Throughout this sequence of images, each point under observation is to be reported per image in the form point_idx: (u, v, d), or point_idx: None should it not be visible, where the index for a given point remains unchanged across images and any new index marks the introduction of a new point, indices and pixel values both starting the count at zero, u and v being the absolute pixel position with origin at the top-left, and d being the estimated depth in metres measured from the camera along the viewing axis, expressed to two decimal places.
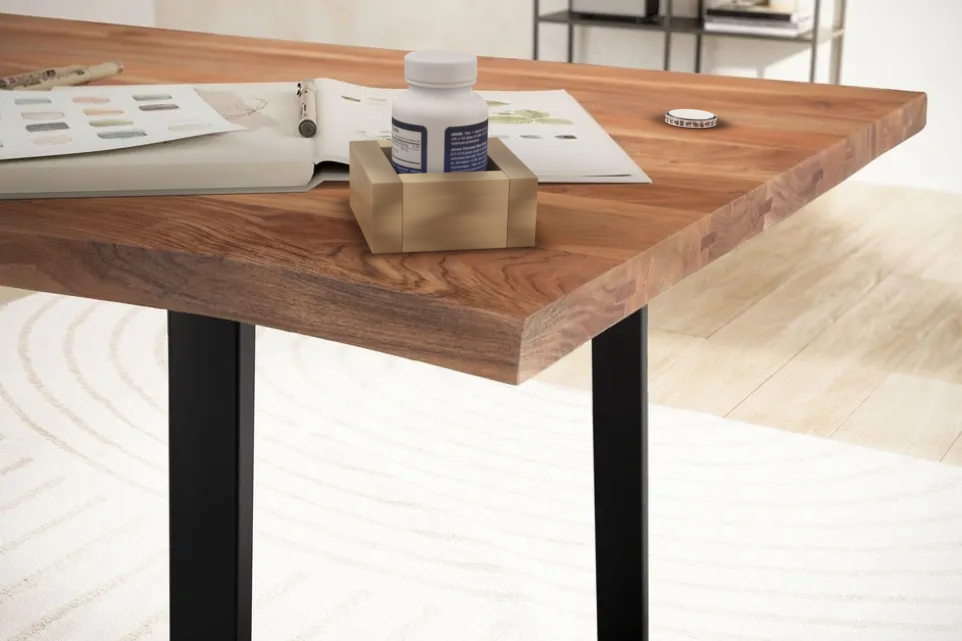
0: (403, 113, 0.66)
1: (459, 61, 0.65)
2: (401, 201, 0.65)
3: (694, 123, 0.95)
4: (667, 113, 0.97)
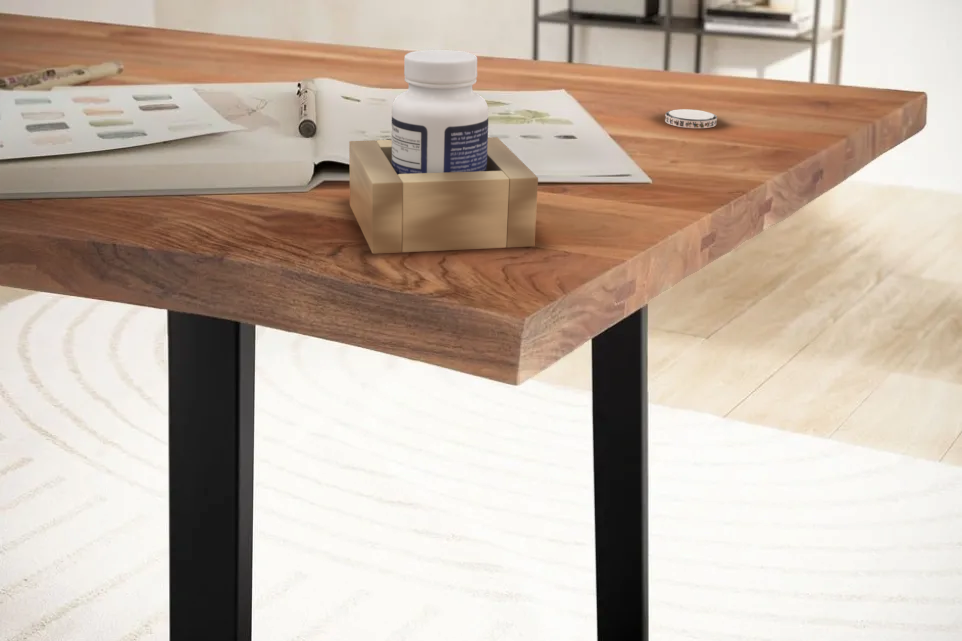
0: (403, 113, 0.66)
1: (459, 61, 0.65)
2: (401, 201, 0.65)
3: (694, 123, 0.95)
4: (667, 113, 0.97)
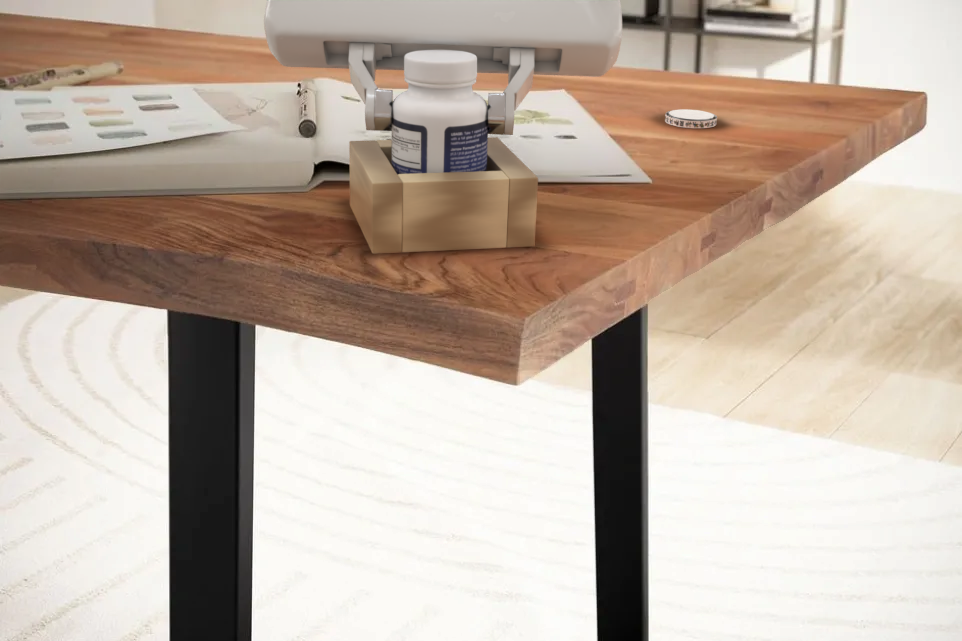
0: (403, 113, 0.66)
1: (459, 61, 0.65)
2: (401, 201, 0.65)
3: (694, 123, 0.95)
4: (667, 113, 0.97)
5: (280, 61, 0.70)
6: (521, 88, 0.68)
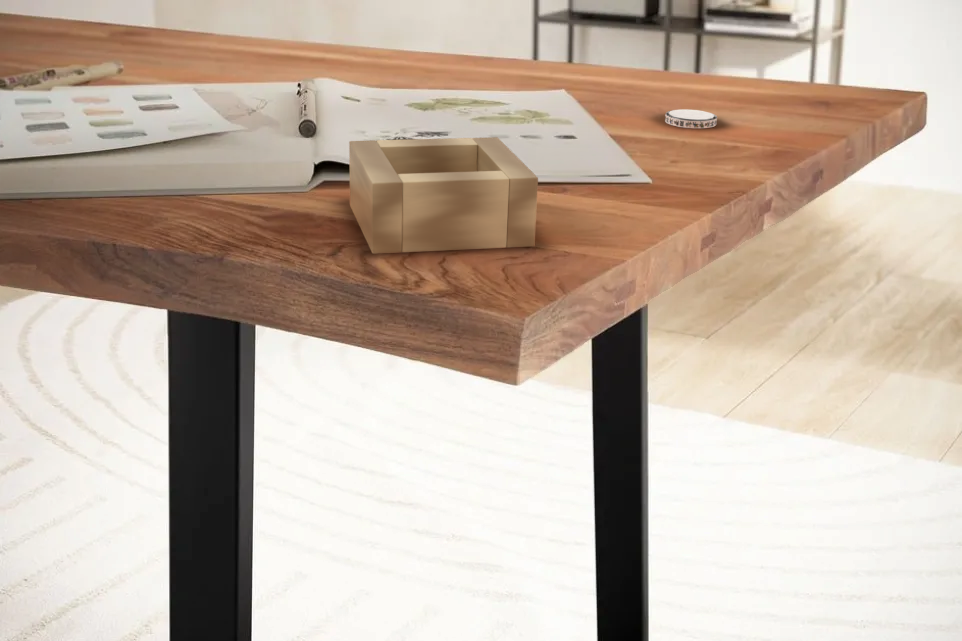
0: None
1: None
2: (401, 201, 0.65)
3: (694, 123, 0.95)
4: (667, 113, 0.97)
5: None
6: None
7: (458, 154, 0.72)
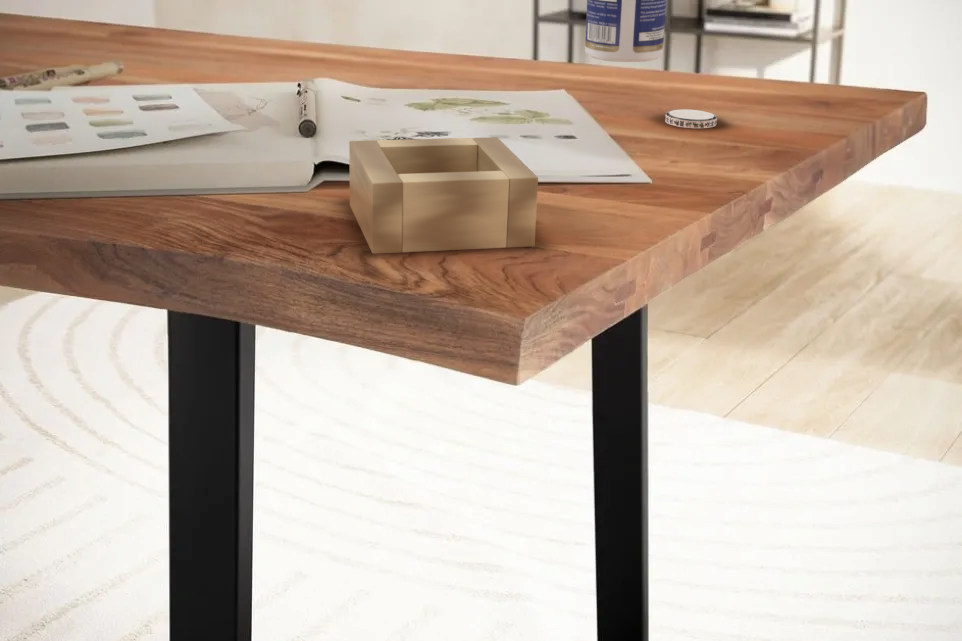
0: None
1: None
2: (401, 201, 0.65)
3: (694, 123, 0.95)
4: (667, 113, 0.97)
5: None
6: None
7: (458, 154, 0.72)
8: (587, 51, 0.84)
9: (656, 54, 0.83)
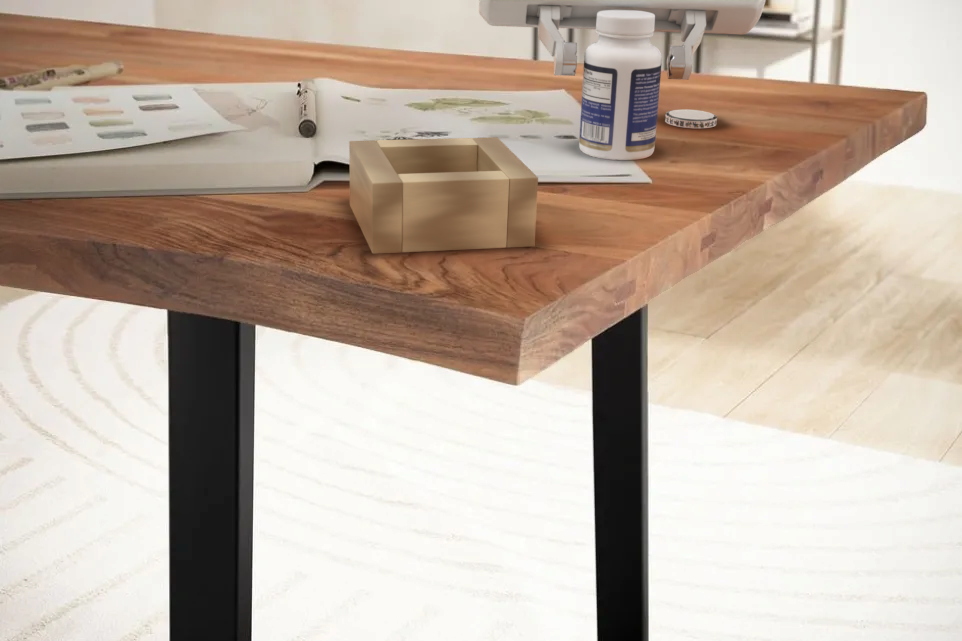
0: (597, 59, 0.83)
1: (643, 17, 0.82)
2: (401, 201, 0.65)
3: (694, 123, 0.95)
4: (667, 113, 0.97)
5: (488, 21, 0.87)
6: (696, 42, 0.85)
7: (458, 154, 0.72)
8: (581, 148, 0.87)
9: (648, 153, 0.86)
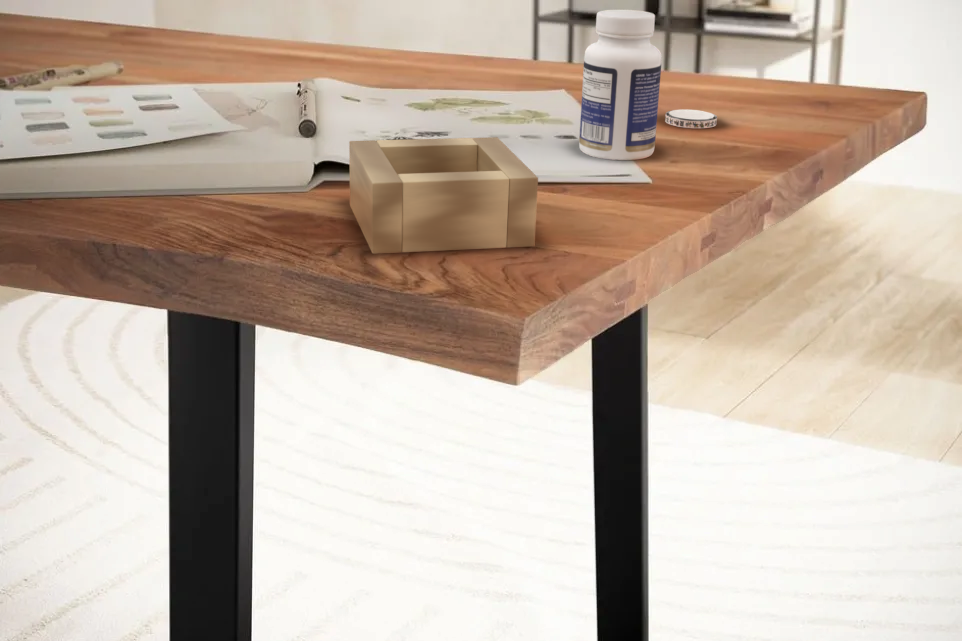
0: (597, 59, 0.83)
1: (643, 17, 0.82)
2: (401, 201, 0.65)
3: (694, 123, 0.95)
4: (667, 113, 0.97)
5: None
6: None
7: (458, 154, 0.72)
8: (581, 148, 0.87)
9: (648, 153, 0.86)
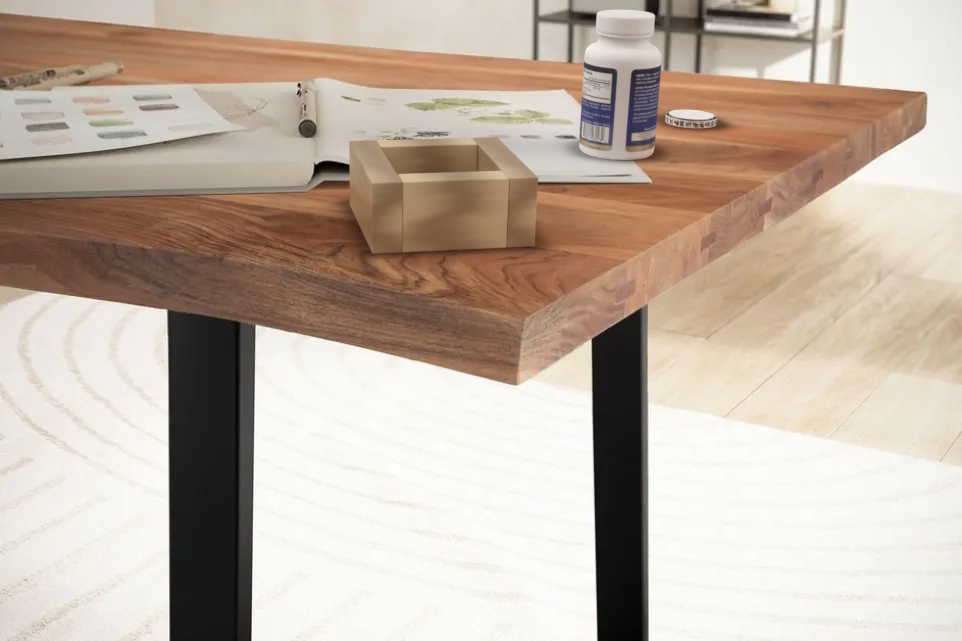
0: (597, 59, 0.83)
1: (643, 17, 0.82)
2: (401, 201, 0.65)
3: (694, 123, 0.95)
4: (667, 113, 0.97)
5: None
6: None
7: (458, 154, 0.72)
8: (581, 148, 0.87)
9: (648, 153, 0.86)
